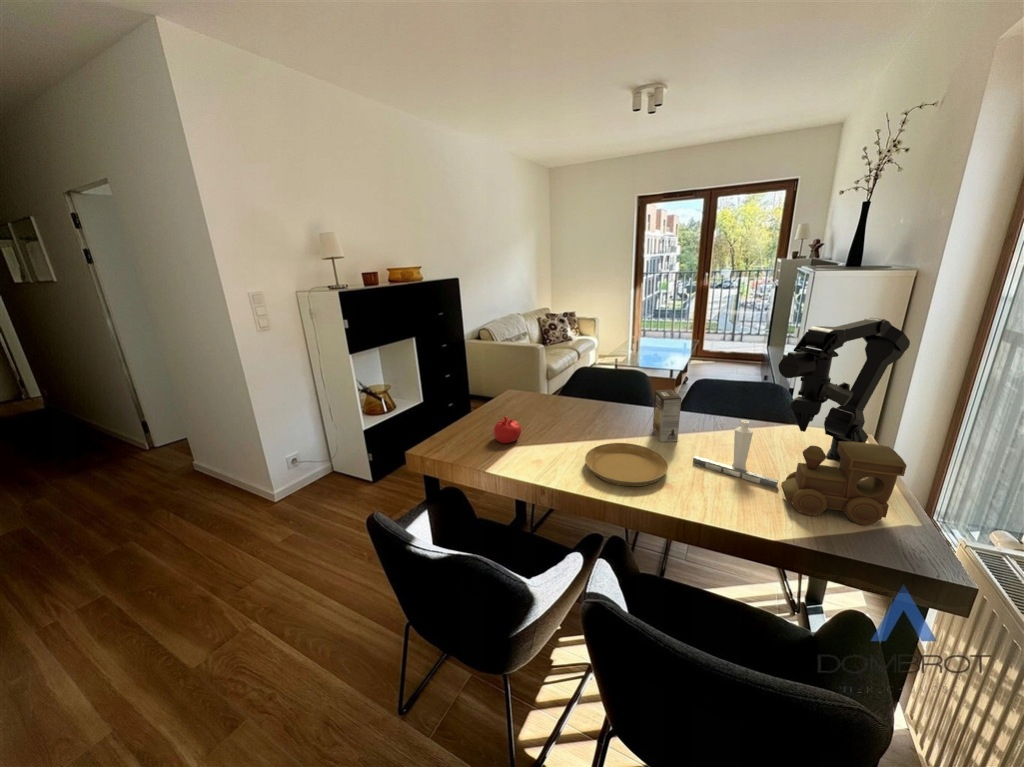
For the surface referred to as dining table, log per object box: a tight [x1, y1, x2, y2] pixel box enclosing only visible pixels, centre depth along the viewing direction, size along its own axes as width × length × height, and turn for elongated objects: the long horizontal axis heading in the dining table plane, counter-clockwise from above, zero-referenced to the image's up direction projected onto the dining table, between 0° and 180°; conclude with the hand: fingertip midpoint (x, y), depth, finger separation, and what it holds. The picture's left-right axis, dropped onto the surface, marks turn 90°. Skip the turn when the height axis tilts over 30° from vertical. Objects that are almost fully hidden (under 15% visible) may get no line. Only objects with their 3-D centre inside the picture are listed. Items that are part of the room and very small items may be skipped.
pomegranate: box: [493, 416, 522, 444], centre depth 145 cm, size 10×10×9 cm
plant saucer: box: [584, 442, 669, 487], centre depth 122 cm, size 24×24×3 cm
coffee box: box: [652, 388, 682, 442], centre depth 140 cm, size 9×6×16 cm
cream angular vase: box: [731, 419, 754, 471], centre depth 117 cm, size 5×4×15 cm
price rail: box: [692, 455, 779, 490], centre depth 116 cm, size 2×22×2 cm, turn 45°
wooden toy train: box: [781, 441, 908, 526], centre depth 97 cm, size 20×11×17 cm, turn 66°
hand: (806, 426), depth 115 cm, fingers open, 9 cm apart
